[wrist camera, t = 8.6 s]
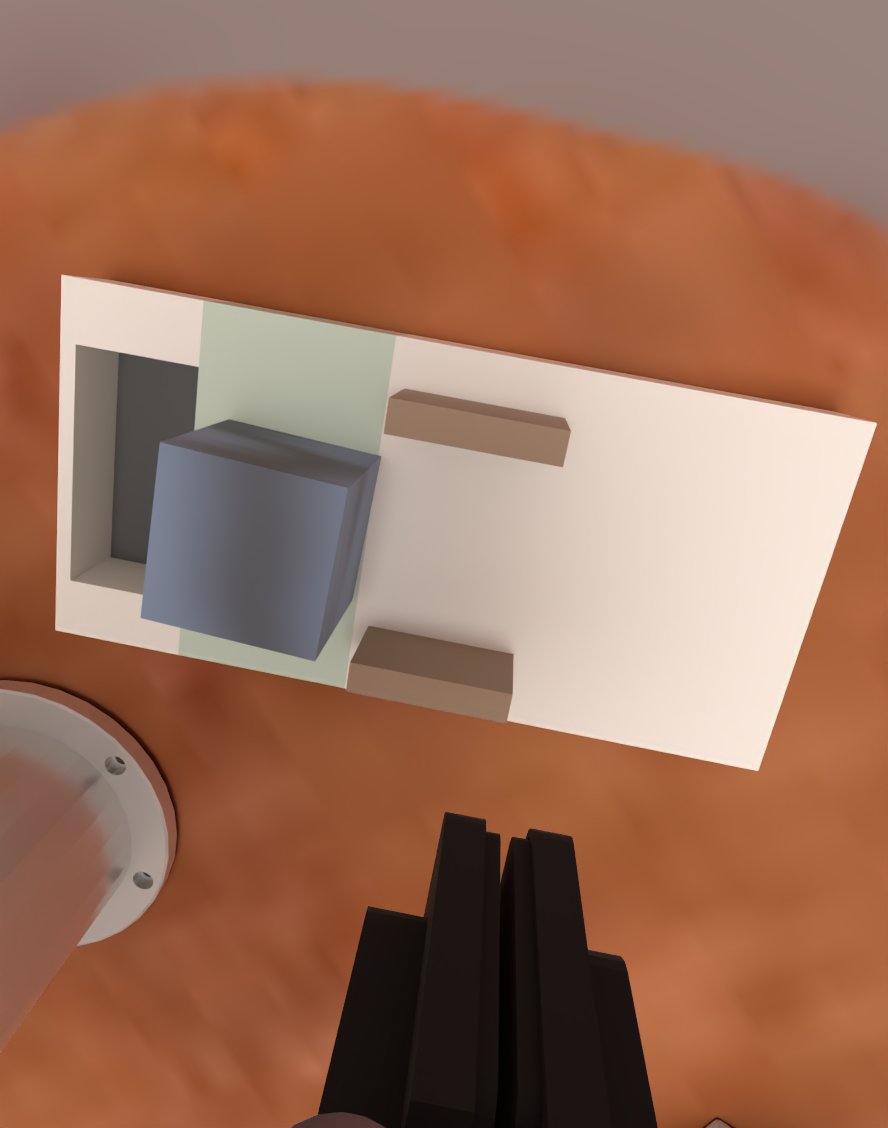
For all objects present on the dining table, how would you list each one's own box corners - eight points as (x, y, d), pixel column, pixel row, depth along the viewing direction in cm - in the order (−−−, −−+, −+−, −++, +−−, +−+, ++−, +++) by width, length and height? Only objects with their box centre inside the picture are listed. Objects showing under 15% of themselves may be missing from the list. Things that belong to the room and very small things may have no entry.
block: (209, 564, 26) (140, 617, 22) (229, 419, 25) (160, 442, 20) (352, 599, 26) (315, 661, 21) (381, 456, 25) (348, 488, 20)
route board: (99, 601, 30) (2, 665, 25) (110, 279, 27) (-1, 268, 21) (735, 727, 30) (786, 824, 24) (837, 412, 26) (927, 437, 20)
